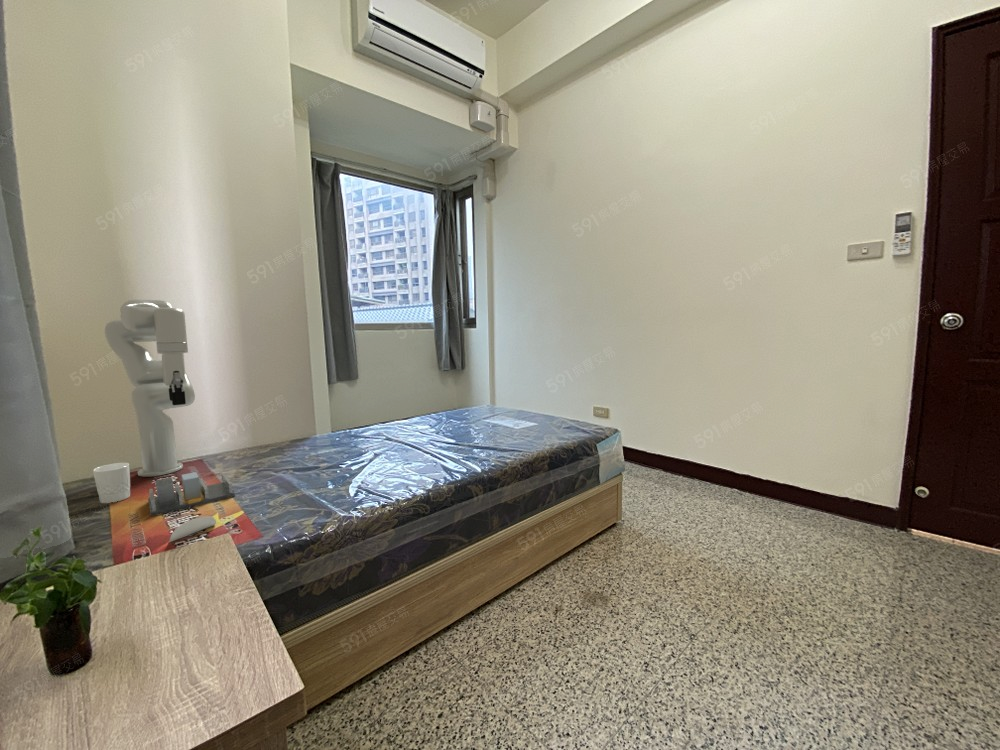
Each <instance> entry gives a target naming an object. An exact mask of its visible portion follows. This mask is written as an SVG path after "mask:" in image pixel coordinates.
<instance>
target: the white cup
mask: <svg viewBox="0 0 1000 750" xmlns="http://www.w3.org/2000/svg"><path fill="white" fill-rule="evenodd" d="M92 472H93V476H94V483H95V485H96V490H97V491H96V492H97V494H98V499H99V502H100V503H101V504H112V503H111V502H113V503H117V501H118V502H121V501H123V500H126V499H128V498H130V496H131V474H130V473H131V471H130V463H129V462H114V463H109V464H105V465H101V466H98V467H95V468H94V469H92Z"/></svg>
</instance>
